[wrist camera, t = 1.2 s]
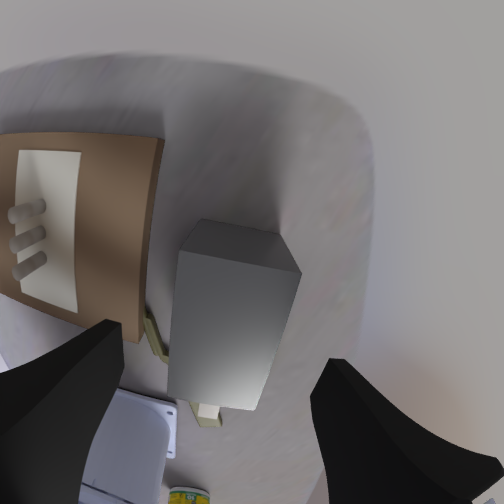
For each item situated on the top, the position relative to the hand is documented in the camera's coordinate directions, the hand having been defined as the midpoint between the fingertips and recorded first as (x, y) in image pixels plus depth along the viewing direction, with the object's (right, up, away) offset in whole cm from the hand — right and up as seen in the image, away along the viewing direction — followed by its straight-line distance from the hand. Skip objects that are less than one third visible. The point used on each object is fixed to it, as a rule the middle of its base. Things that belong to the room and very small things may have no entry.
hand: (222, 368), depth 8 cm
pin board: (-11, +5, +4) cm, 13 cm away
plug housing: (0, +2, +6) cm, 6 cm away
